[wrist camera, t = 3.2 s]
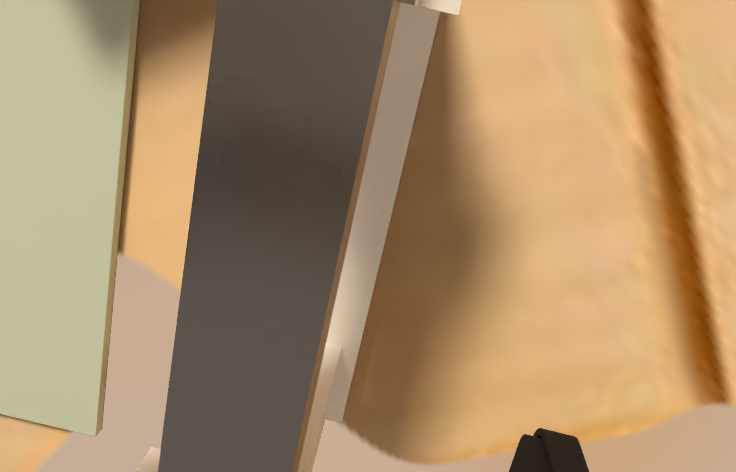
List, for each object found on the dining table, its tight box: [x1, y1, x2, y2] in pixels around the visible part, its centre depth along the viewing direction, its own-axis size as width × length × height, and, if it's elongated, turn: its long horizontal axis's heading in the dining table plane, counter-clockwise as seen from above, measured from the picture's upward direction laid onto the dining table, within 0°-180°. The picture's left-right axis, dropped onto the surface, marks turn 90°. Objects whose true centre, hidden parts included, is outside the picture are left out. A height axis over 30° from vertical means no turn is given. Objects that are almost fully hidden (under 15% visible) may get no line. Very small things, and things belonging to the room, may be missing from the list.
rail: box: [158, 0, 401, 472], centre depth 15 cm, size 22×3×3 cm, turn 167°
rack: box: [136, 0, 462, 472], centre depth 20 cm, size 20×5×10 cm, turn 167°
